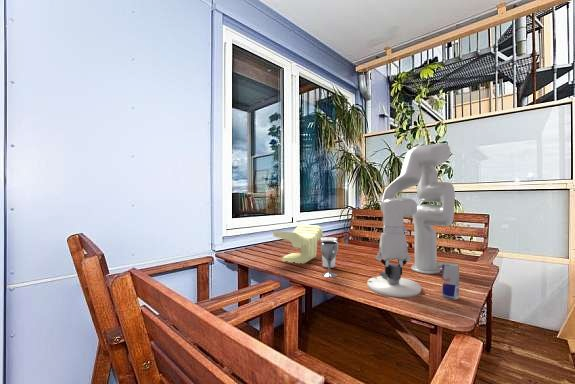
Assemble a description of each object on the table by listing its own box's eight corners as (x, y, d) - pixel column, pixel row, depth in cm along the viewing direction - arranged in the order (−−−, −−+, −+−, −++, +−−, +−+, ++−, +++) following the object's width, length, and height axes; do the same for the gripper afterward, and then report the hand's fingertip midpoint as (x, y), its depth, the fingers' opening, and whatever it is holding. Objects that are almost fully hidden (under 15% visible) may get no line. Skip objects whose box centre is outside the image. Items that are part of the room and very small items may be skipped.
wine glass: (334, 278, 123) (333, 244, 123) (317, 275, 127) (317, 243, 127) (340, 274, 130) (340, 241, 130) (325, 271, 134) (324, 240, 134)
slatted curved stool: (300, 268, 139) (300, 233, 139) (273, 264, 147) (273, 230, 147) (322, 255, 166) (322, 225, 166) (298, 252, 173) (298, 224, 173)
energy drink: (438, 294, 104) (438, 262, 103) (452, 294, 104) (452, 262, 104) (448, 300, 98) (448, 266, 98) (462, 299, 99) (462, 266, 99)
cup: (340, 267, 141) (340, 238, 141) (328, 269, 137) (328, 240, 137) (329, 263, 148) (329, 236, 148) (317, 266, 143) (317, 238, 143)
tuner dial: (411, 280, 120) (411, 276, 120) (429, 298, 100) (429, 293, 100) (364, 278, 123) (364, 274, 123) (371, 296, 103) (371, 291, 103)
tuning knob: (402, 284, 109) (402, 266, 109) (392, 285, 108) (392, 267, 108) (386, 274, 121) (385, 258, 121) (376, 275, 120) (376, 259, 120)
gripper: (412, 229, 114) (412, 274, 114) (370, 228, 116) (370, 272, 116) (418, 232, 106) (418, 280, 107) (373, 231, 108) (373, 278, 109)
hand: (393, 275), depth 111 cm, fingers closed on tuning knob, 3 cm apart
